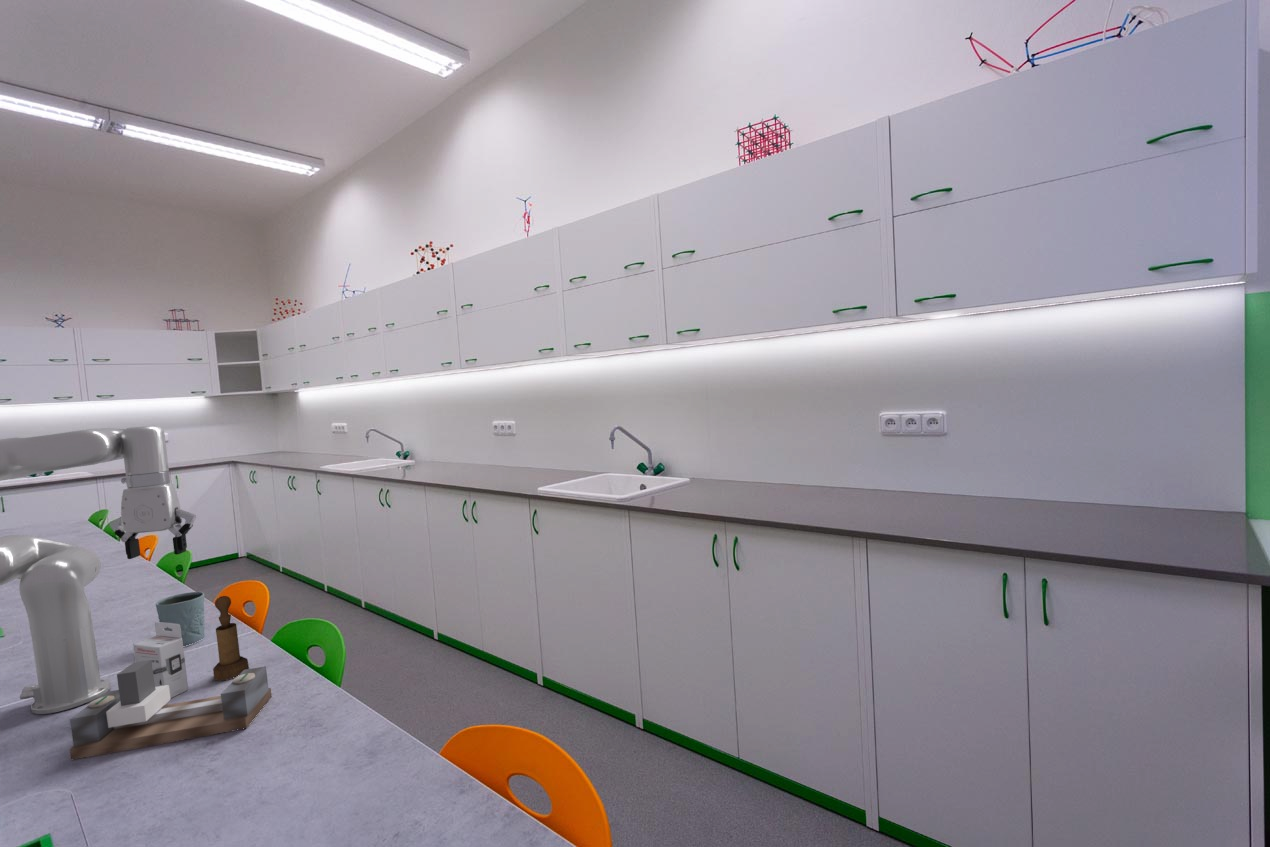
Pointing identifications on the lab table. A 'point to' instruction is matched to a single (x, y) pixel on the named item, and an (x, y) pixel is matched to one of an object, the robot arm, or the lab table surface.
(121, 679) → the carriage
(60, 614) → the robot arm
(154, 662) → the ink box
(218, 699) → the rail stand
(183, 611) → the blue-grey plant pot
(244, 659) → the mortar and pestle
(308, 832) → the lab table surface
